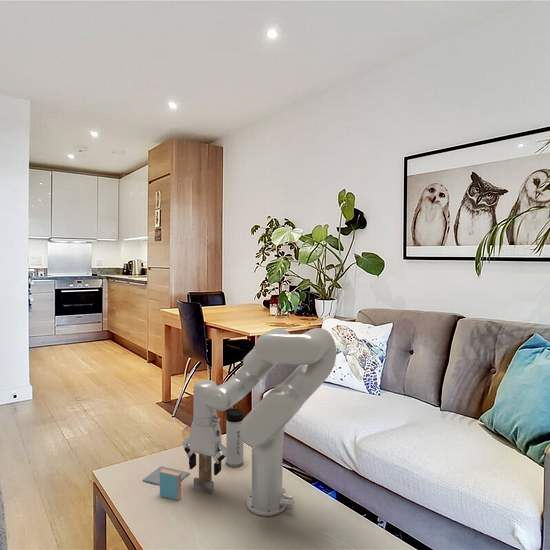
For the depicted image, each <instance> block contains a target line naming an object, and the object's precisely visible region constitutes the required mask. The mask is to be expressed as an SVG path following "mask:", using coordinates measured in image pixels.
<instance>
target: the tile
mask: <svg viewBox="0 0 550 550" xmlns="http://www.w3.org/2000/svg"><path fill="white" fill-rule="evenodd" d="M159 496H160V497H163V496H164V497H163V498H166V497H167V499H170V498H171V500H174V499H175V500H174V501H179V500H181V499H182V481H181V473H177V472H173V471H169V470H164V469H162V470H161V471H160V486H159Z"/></svg>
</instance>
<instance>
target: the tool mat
mask: <svg viewBox="0 0 550 550" xmlns="http://www.w3.org/2000/svg"><path fill="white" fill-rule="evenodd" d="M162 469H164V470H169V471H173V472H177V473H181V482H183V481H184V478H185V477H186V478H187V477H188V476H189V475H190V472H189V471H184V470H180V469H176V468H172V467H167V466H162V465H160V466H159V467H158V468H157V469H155V470H154V471H152V472H151V473H149V474H148V475H147V476H145V478H143V479H142V482H144V483H147V484H153V485H155V484H156V486H159V485H160V471H161V470H162Z"/></svg>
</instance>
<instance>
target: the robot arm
mask: <svg viewBox="0 0 550 550" xmlns="http://www.w3.org/2000/svg"><path fill="white" fill-rule="evenodd" d="M336 359H337V345H336V341H335V339H334V337H333V336H332V334H331V333H330V332H329V331H328V330H327V329H324V328H321V327H314V328H312V329H309V330H306V331H305V332H303V333H302V334H296V333H295V334H294V333H293V334H292V333H290V332H289V331H287V330H286V329H284V328H279V327H278V328H273V329H271V330H269V331H267V332H265V333H262V334H261V335H260V336H259V337H258V338H257V339H256V341H255V343H254V347H253V348H252V349H251V350H250V351H249V352H248V353H247V354H246V355H245V357H243V360H242V364H243V365H242V367H241V368H240V369H239V370H238V371H237V372H236V373H235V374H234V375H233V376H232V377H231V378H230V379H229V380H227V381H225V382H223V383H221V384H219V385H217V383H216V382H215V381H214V380H210V379H201V380H198V381H196V382H195V383H194V386H193V417H192V418H193V421H192V422H191V426H190V431H189V438H187V439H185V440H183V441H182V442H181V444H182V446H183V450H184V452H185V453H186V455H187V458H188V467H189V468H188V469H189V470H193V469H194V468H195V467H196V466H197V454H198V455H199V454H202V455H207V456H212V460H214V463H213V475H214V476H218V474H219V473H220V472H221V471H222V461H223V460H224V459H225V458H226V455H227V454H228V452H229V450H228V449H227V448H226V445H223V442H222V440H223V439H222V431H221V426H220V425H221V424H220V421H221V418H220V417H219V416H218V413H217V412H218V411H221V412H224V411H225V412H226V410H227V409H231V407H234V406H235V405H236V404H237V403H238V402H240V401H241V400H243V399H244V398H245V397H246V396H247V395H248V394H249V393H250V392H251V391H252V390H253V389H254V388H255V387H256V386H257V385H258V383H260V382H261V380H263V379H264V378H265V377H266V376H267V375H268V374H269V373H270V371H271V370H273V368H275V367H276V365H292V366H293V365H296V366H297V367H296V368H295V369H294V371H293V372H292V373H291V374H290V375H289V376H288V377H286V379H285V380H283V382H280V383H279V384H278V385H276V386H275V387H274V388H272V390H270V391H269V392H268V393H266V395H265V396H264V397H262V398H261V400H260V401H259V402H258V403H257V404H256V405H255V406H254V407H253V409H251V410H250V411H249V412H248V413H247V414H246V415H245V417H243V421H242V423H241V426H240V435H241V438H242V440H243V444H245V445H247V446H248V447H250V448H251V493H250V494H249V495H248V496H247V498H246V503H245V504H246V507H247V509H248V510H249V511H250V512H251V513H253V514H255V515H259V516H263V517H271V516H275V515H278V514H281V513H283V512H284V511H285V510H286V508H287V507H290V508H294V507H295V504H296V503H295V502H296V501H295V500H294V496H293V495H288V494H287V493H286V488H283V455H284V454H283V453H284V437H285V435H284V434H285V428H286V427H285V426H286V425H287V424H288V423H289V422H290V421H291V420H292V419H293V417H294V416H295V415H297V414H298V412H299V411H300V410H301V408H302V407H303V406H304V404H305V403H306V402H307V401H308V399H310V397H311V396H312V395H314V393H315V392H316V391H317V390H318V389H319V388H320V387H321V386H322V385H323V384H324V383H325V381H326V380H327V379H328V378H329V376H330V374H331V373H332V370H333V369H334V367H335V363H336ZM221 452H222V453H221Z"/></svg>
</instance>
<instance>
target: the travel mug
mask: <svg viewBox="0 0 550 550" xmlns="http://www.w3.org/2000/svg"><path fill="white" fill-rule="evenodd" d="M225 413H226V420H225V421H226V423H225V424H226V433H225V436H226V440H225V441H226V443H225V444H226V445H225V447H226V448H227V449H228V450H229V452H228V454H227V455H226V457H225V458H226V461H225V463H226V466H228V467H230V468H238V467H241V466H242V465H243V464H244V441H243V440H242V438H241V435H240V426H241V423H242V421H243V419H244V411H243V410H241V409H238V408H229V409H227V410H225Z"/></svg>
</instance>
